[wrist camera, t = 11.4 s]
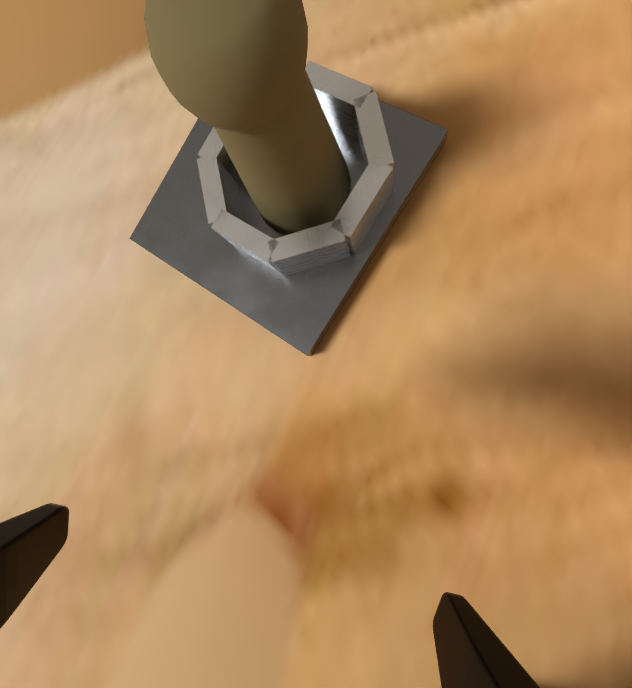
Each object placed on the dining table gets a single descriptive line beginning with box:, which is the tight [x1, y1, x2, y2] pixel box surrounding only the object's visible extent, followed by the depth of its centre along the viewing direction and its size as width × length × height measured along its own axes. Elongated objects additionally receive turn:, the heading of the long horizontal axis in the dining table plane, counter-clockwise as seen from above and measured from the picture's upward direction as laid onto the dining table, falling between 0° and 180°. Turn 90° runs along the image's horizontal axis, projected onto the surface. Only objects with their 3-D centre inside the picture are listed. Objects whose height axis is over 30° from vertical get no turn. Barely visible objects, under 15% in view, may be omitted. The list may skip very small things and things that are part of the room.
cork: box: [144, 0, 351, 235], centre depth 14 cm, size 6×6×11 cm
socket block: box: [130, 61, 448, 356], centre depth 19 cm, size 15×15×4 cm
